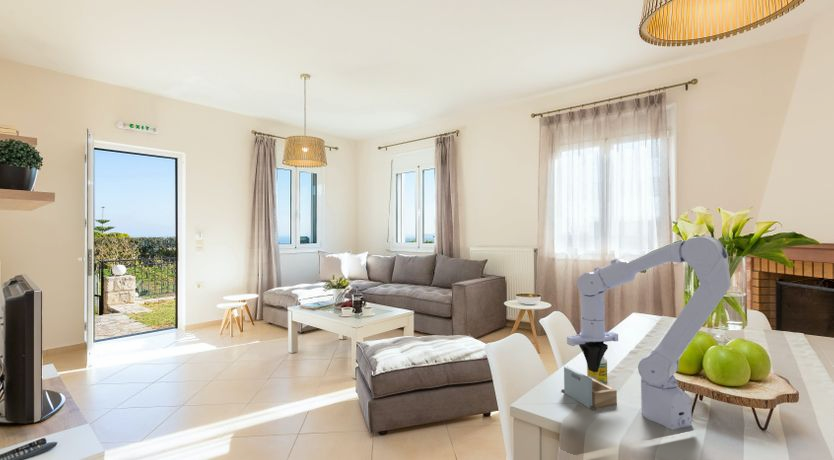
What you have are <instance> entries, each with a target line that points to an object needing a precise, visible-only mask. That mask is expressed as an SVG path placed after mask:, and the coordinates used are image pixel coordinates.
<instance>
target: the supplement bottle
mask: <svg viewBox="0 0 834 460" xmlns="http://www.w3.org/2000/svg"><path fill="white" fill-rule="evenodd" d="M586 369H587V370H586V373H587V375H586V376H589V377H591V378H593V379H595V380H597V381H599V382H601V383H603V384H605V383H607V382H608V359H607V358H606V356H605V354H604V355H603V357H602V360H601V363H600V366H599V370H598V372H592V371H590V370H589V369H588V365H587V364H586Z"/></svg>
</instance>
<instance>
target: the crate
mask: <svg viewBox="0 0 834 460" xmlns="http://www.w3.org/2000/svg"><path fill="white" fill-rule="evenodd" d="M586 376H587V375H586ZM587 377H589V376H587ZM589 378H591V377H589ZM591 379H592V406H591V407H590V408H589V410H592V411H596V410H597V409H599V408H604V407H610V406H614V405H615V406H616V405H618V402H617V401H618V400H617V399H618V398H617V396H618V395H617V394H618V393H617V392H618V391H617V389H615V388H613V387H611V386H609V385H607V384H605V383H601V382H599V381H597V380H595V379H593V378H591ZM560 392H562V393H563V394H565V393H564V389H561V391H560Z"/></svg>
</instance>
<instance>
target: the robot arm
mask: <svg viewBox="0 0 834 460" xmlns="http://www.w3.org/2000/svg"><path fill="white" fill-rule="evenodd" d="M669 262H671V263H678V264H679V263H687V264H688V266H690V268H691V269H693V271H694V273H695V275H696V277H697V280H698V282H699V285H698V287H697V288H696V290H695V291H694V293H693V294H692V296H691V297H690V299H689V300H688V301H687V302H686V304H685V305H684V307H683V309H682V310H681V312H679V315H678V316H677V317H676V319H675V320H674V322H672V324H671V326H670V327H669V329H668V330H667V332H666V334H665V335H664V336H663V338H662V339H661V340H660V342H659V343H658V344H657V346H656V347H654V349H653V350H651V351H650V353H649V354H648V355H647V356H645V357H643V358H641V360H640V361H639V362H638V365H637V370H638V373H639V376H640V394H641V395H640V396H641V397H640V399H641V401H640V402H641V403H640V404H641V406H640V407H641V415H642V416H643V417H644V418H645V419H647V420H649V421H651V422H655V423H657V424H659V425H661V426H664V427H665V428H666V429H669V430H677V429H682V428H687V427H692V425H693V424H692V421H693V420H692V418H693V417H692V416H693V415H692V413H693V412H692V399H691V397H690V395H689V393H687V391H684V390H682V389H681V388H680V386H679V385H678V380H677V379H676V377H675V374H676V373H677V372H678V369H679V365H680V358H681V357H682V356H683V354H684V352H685V351H686V349H687V348H688V346H689V345H690V344H691V342H692V341H693V340H694V338H695V337H696V335H697V334H698V333H699V331H700V330H701V329H702V327H703V326H704V324H705V323H706V321H708V319H709V317H710V316H711V314H712V313H713V312H714V310H715V309H716V308H717V306H718V305H719V303H720V302H721V301H722V300H723V298H724V297H725V295H726V294H727V292H728V291H729V290H730V288H731V285H732V281H731V272H730V265H729V253H728V252H727V250H726V248H725V247H724V245H723V244H722V242H721V241H719V240H718V239H717V238H716V237H712V236H709V235H707V236H706V235H705V236H694V237H690V238H688V239H687V240H680V241H676V242H674V243H669V244H666V245H664V246H662V247H659V248H657V249H655V250H653V251H651V252H648V253H646V254H644V255H641V256H639V257H637V258H635V259H632V260H630V261H629V260H626V259H624V258H623V259H622V258H620V259H618V258H614V259H611V260H610V263H609V264H606V265H604V266H602V267H594V268H593V271H591V272H588V271H587V272H584V273H583V274H581V275H579V277H578V278H577V281H576V287H577V289H578V291H579V292H580V332H579V333H577V334H574V335H570V336H566V344H567V345H568V346H571V347H576V345H577V346H579V347H580V350H581V351H582V353H583V356H584V358H585V362H586V366H587V365H588V369H589V370H590V371H592V372H598V370H599V366H600V363H601V360H602V357H603V355H604V356H605V353H607V350H608V348H609V347H608V346H609V345H608V344H606V342H619V333H616V332H612V331H611V332H609V331H607V332H606V315H605V314H606V313H605V310H606V309H605V308H606V304H605V292H606V291H607V290H612V289H614V288H617V287H618V286H619V287H620V286H622V285H625V284H627V283H630V282H633V281H634V279H635V278H636V275H637V274H638V273H641V272H643V271H646V270H649V269H651V268H655V267H658V266H660V265H664V264H665V263H669ZM604 342H605V343H604Z"/></svg>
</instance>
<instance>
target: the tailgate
mask: <svg viewBox="0 0 834 460" xmlns="http://www.w3.org/2000/svg"><path fill="white" fill-rule="evenodd" d="M563 382H564V383H563V384H564V385H563V387H564V393H563V394H565V395H567V396H568V397H570V398H572V399H573V400H575V401H577V402H578V403H580V404H582V405H584V406H585V407H587V408H589V409H590V407H591V406H592V379H591V378H589V377H587V375H585V374H583V373H582V372H579V371H577V370H575V369H573V368H571V367H569V366H563Z"/></svg>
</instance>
